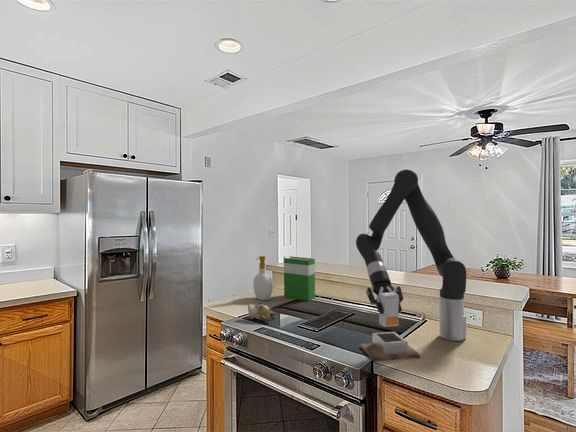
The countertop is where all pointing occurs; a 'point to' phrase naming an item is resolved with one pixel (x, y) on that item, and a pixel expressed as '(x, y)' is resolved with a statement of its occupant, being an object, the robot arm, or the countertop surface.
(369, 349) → the walnut board
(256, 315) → the ceramic sculpture
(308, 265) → the green cereal box
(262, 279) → the soap bottle
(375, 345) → the steel slot collar
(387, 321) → the skincare box
